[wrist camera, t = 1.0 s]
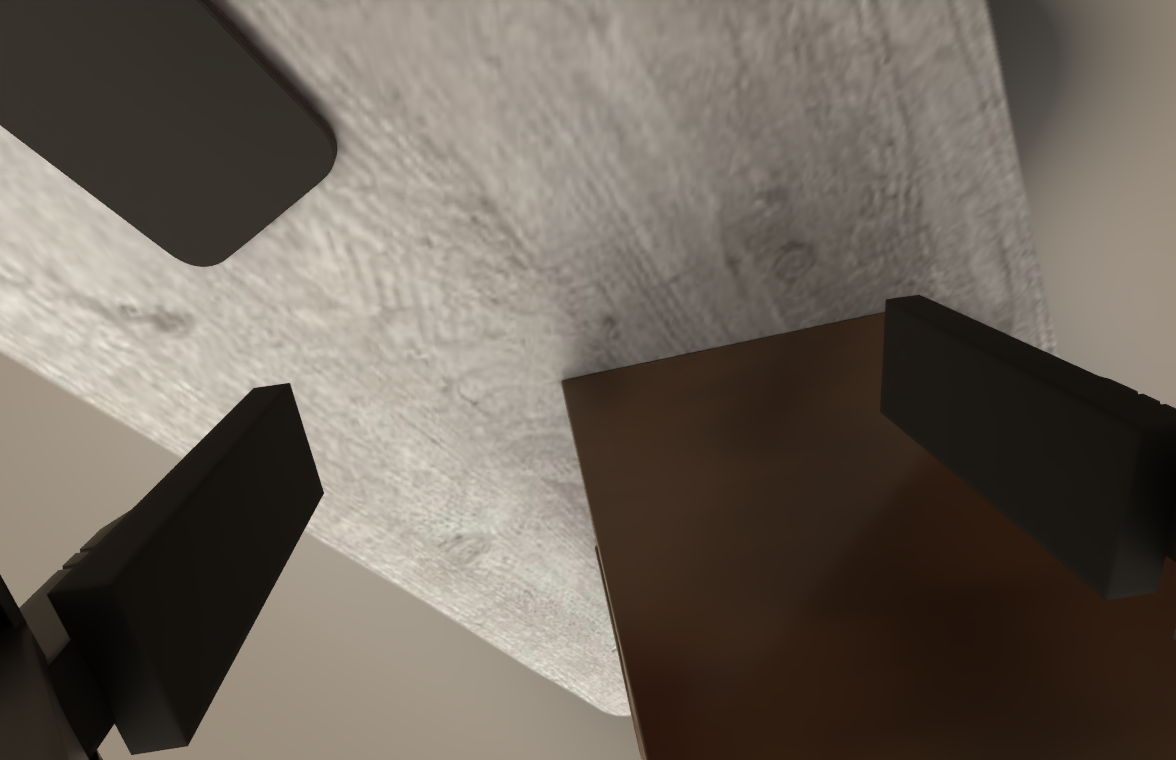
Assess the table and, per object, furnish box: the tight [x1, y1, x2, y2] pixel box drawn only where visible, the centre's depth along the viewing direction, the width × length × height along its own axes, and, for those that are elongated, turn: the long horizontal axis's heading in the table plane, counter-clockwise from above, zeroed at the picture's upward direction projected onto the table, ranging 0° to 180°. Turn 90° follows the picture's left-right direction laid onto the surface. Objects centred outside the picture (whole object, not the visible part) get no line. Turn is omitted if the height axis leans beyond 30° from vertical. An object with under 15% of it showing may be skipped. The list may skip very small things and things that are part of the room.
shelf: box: [561, 313, 1176, 760], centre depth 24 cm, size 18×14×30 cm
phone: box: [0, 0, 337, 267], centre depth 19 cm, size 7×1×15 cm
